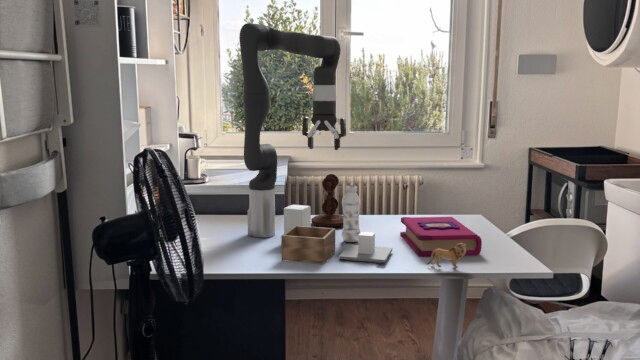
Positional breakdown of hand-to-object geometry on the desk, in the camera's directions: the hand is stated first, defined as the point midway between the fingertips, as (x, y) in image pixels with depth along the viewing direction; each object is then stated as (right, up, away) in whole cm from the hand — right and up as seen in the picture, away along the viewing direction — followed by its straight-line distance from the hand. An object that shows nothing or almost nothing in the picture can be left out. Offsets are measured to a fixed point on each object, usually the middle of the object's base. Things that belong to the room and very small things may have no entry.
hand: (323, 149), depth 199 cm
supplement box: (-9, -32, +16) cm, 37 cm away
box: (-5, -35, -2) cm, 35 cm away
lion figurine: (+38, -37, -12) cm, 54 cm away
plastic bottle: (+10, -32, +16) cm, 37 cm away
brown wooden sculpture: (+3, -28, +40) cm, 49 cm away
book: (+40, -33, +14) cm, 54 cm away
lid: (+14, -34, -2) cm, 37 cm away
